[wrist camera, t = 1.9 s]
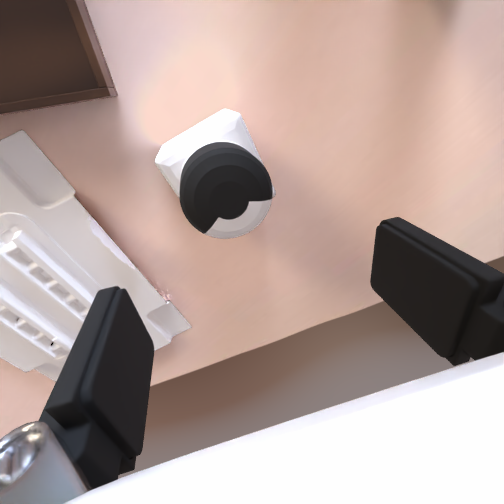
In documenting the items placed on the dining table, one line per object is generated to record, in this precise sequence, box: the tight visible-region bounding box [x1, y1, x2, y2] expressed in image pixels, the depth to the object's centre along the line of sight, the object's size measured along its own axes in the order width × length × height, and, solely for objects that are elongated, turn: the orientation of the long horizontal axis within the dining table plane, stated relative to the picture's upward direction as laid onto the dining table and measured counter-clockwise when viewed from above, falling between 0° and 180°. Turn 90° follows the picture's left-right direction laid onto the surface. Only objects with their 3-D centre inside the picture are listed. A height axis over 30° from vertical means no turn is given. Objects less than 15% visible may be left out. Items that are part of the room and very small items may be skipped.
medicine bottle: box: [155, 109, 276, 239], centre depth 21 cm, size 7×7×12 cm
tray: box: [0, 130, 192, 382], centre depth 29 cm, size 20×28×4 cm
